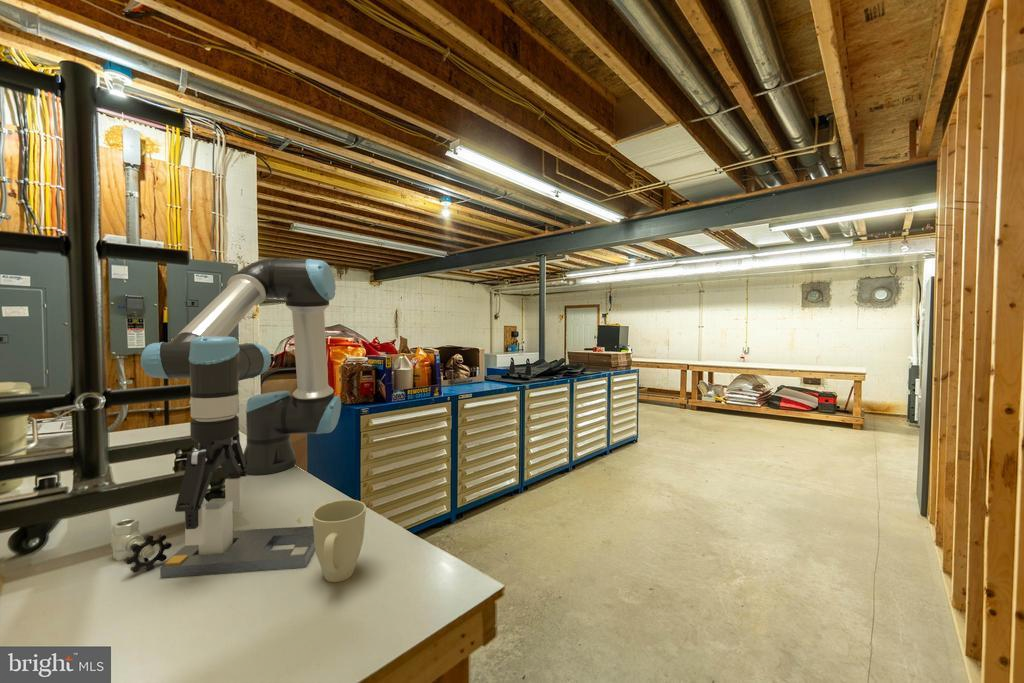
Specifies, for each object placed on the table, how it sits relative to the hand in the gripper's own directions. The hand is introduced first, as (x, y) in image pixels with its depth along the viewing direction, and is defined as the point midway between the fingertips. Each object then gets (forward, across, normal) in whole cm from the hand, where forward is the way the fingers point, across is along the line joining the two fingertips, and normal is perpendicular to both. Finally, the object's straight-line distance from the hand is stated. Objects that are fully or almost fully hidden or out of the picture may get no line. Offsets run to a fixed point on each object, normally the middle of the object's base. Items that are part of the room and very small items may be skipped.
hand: (215, 525), depth 79 cm
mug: (+6, +10, +25) cm, 28 cm away
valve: (+7, 0, -14) cm, 15 cm away
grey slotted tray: (+6, 0, +6) cm, 9 cm away
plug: (+6, 0, 0) cm, 6 cm away
